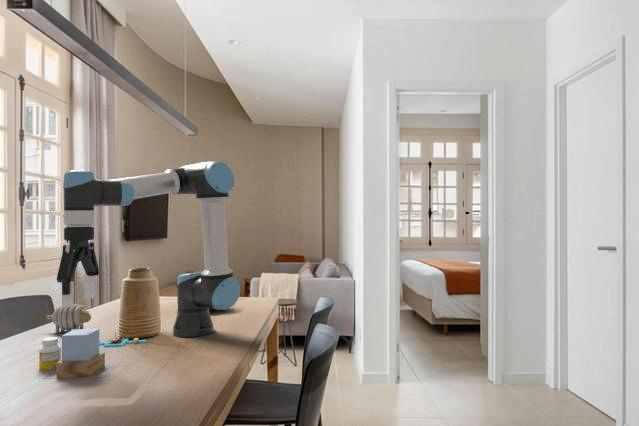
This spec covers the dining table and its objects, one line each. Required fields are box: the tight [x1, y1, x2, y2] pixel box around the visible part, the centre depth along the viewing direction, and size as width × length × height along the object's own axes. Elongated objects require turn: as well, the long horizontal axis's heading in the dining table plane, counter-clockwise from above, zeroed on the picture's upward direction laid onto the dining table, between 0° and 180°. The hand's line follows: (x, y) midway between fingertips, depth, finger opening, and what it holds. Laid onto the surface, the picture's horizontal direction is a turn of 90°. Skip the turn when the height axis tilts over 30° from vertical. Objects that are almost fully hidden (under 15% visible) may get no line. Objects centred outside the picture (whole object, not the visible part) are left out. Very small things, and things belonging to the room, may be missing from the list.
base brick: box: [56, 351, 106, 379], centre depth 128 cm, size 9×9×4 cm
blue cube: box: [61, 328, 100, 362], centre depth 128 cm, size 7×7×7 cm
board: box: [42, 365, 119, 380], centre depth 128 cm, size 16×10×2 cm, turn 93°
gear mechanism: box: [99, 330, 147, 348], centre depth 164 cm, size 20×5×9 cm
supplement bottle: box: [38, 336, 62, 371], centre depth 133 cm, size 5×5×10 cm
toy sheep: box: [45, 303, 92, 334], centre depth 182 cm, size 11×17×11 cm, turn 98°
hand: (79, 302), depth 129 cm, fingers open, 13 cm apart
